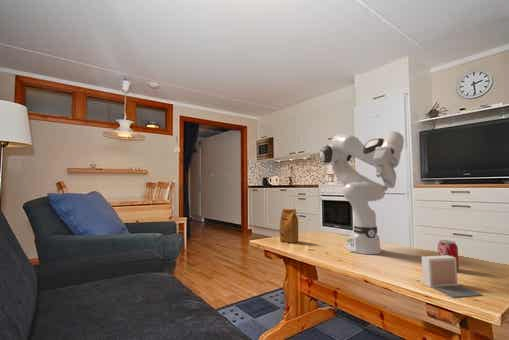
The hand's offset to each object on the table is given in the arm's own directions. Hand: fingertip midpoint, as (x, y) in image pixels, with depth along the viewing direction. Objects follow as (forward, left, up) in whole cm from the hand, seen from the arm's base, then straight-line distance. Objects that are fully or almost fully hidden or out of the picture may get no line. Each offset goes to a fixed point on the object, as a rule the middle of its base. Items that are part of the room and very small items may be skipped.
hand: (381, 183), depth 112 cm
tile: (+15, +12, -38) cm, 43 cm away
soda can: (0, +30, -38) cm, 48 cm away
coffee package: (-69, -24, -38) cm, 82 cm away
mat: (+22, +12, -38) cm, 46 cm away
